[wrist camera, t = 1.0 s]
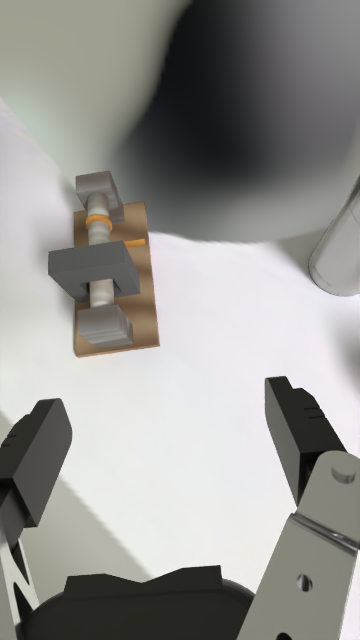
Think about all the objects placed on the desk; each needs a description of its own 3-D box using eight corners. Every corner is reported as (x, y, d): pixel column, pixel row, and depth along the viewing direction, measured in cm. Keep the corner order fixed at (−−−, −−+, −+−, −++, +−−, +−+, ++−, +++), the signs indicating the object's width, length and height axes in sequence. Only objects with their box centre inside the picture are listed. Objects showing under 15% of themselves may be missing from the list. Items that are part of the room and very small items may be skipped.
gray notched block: (140, 293, 44) (124, 262, 35) (78, 303, 44) (48, 274, 36) (139, 275, 45) (123, 240, 36) (78, 284, 45) (48, 251, 37)
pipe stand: (159, 346, 45) (148, 327, 36) (78, 357, 45) (49, 341, 37) (145, 205, 53) (133, 163, 45) (76, 216, 54) (52, 177, 45)
